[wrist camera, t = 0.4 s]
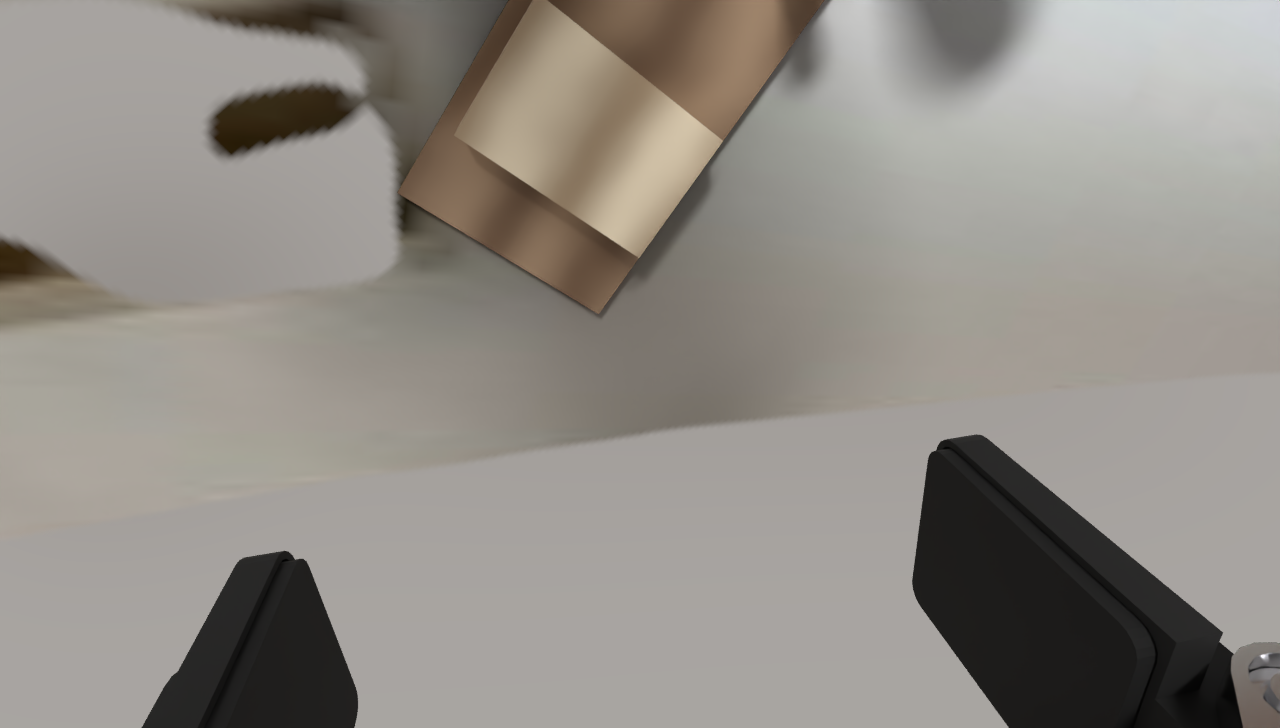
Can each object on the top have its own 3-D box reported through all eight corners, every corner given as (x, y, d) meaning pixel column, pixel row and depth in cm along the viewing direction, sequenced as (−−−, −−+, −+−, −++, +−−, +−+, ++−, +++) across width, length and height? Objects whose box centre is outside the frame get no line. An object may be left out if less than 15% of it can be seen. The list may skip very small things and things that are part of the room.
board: (399, 189, 39) (379, 219, 33) (664, -268, 32) (701, -339, 26) (596, 308, 44) (611, 353, 38) (859, -59, 37) (928, -76, 31)
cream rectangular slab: (457, 127, 37) (453, 135, 34) (535, -5, 35) (538, -8, 32) (630, 243, 42) (639, 258, 39) (708, 133, 40) (723, 140, 37)
